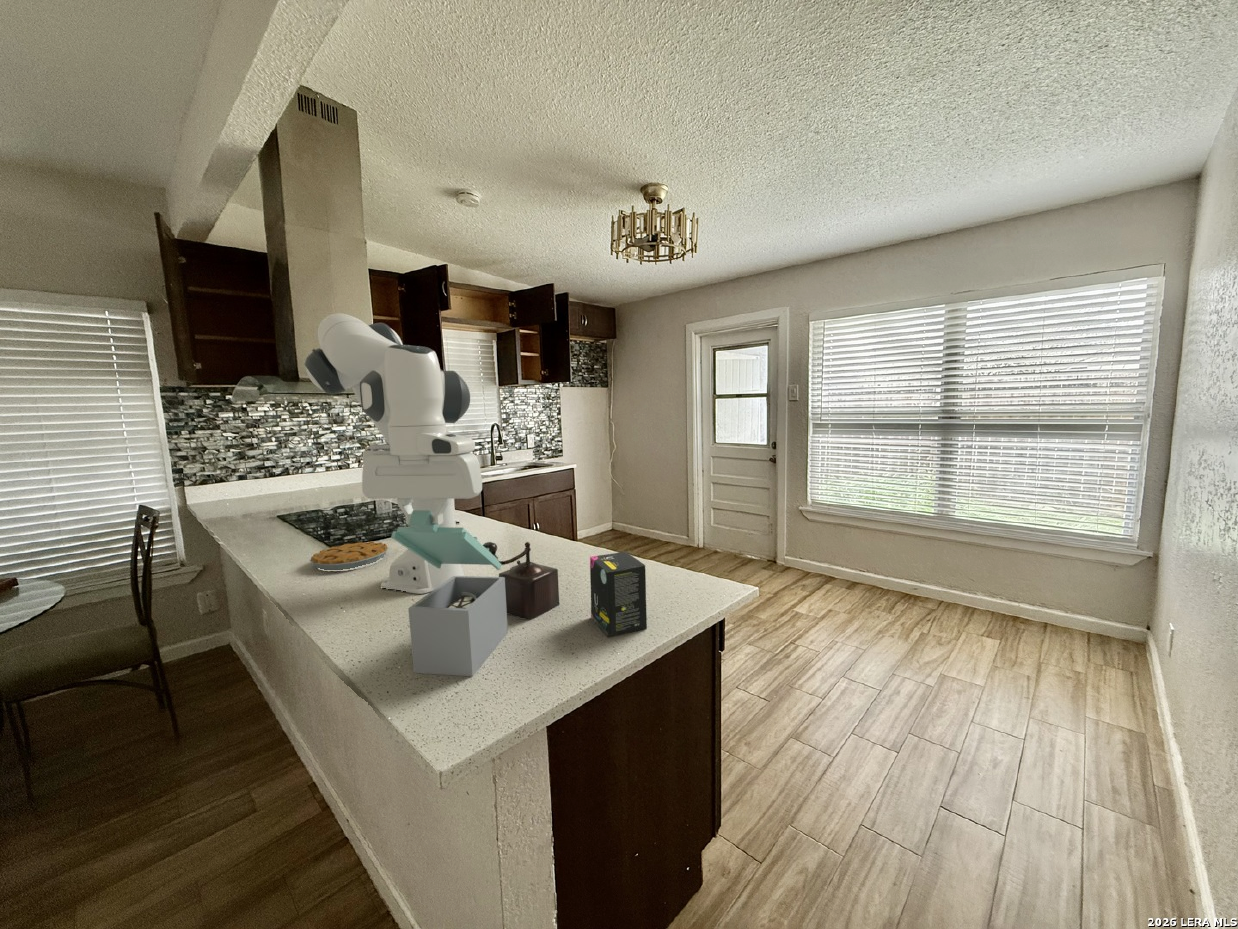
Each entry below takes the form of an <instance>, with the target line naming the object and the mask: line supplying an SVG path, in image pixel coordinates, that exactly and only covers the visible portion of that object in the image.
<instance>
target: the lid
mask: <svg viewBox="0 0 1238 929" xmlns="http://www.w3.org/2000/svg"><path fill="white" fill-rule="evenodd" d="M430 514H433V513H432V512H431V511H429V510H413V511H412V515H411V518H410V521H409V524H408V525H410V526H398V527H397V530H393V531H392V534H391V536H390V538H391V539H392V540H394V542H397V543H399V544H400V545H401V546H404V548H406V549H407V550H408V549H409V550H411V551H412V552H414V553H415V554H417V555H418V556H420V557H421V558H423V559H424V560H426V561H427V562H429V563H430V564H432V565H433V566H435V567H436V568H441V564H461V565H479V566H480V565H481V566H483V565H485V566H486V565H487V566H488V565H489V566H490V565H491V566H492V567H493V568H495V569H496V570H497V571H500V570H501V567H502V565H501V563H500V562H499V561H500V560H499V558H498V559H497V558H496V557H495V556H494V555H493V554H492V553H490V552H489V548H485V547H484V546H483V544H482V543H481V542H480V541H479V540H478V537H477V536H473V535H472V534H471V533H470V532H469V531H467V530H466V529H465V528H464V527H457V526H456V527H439V525H431V524H430Z"/></svg>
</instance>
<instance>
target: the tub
mask: <svg viewBox="0 0 1238 929" xmlns="http://www.w3.org/2000/svg"><path fill="white" fill-rule="evenodd" d="M462 592H467V593H471V594H473V595H475V596H476V598H477V599H476V600H475V601H474V602H473V603H472V604H471V605H470V606H468V607H467V608H466V609H464V608H446V607H447V606H448V605H450V604H451V603H454V602H456V601H457V600H459V599H460V598H461V597H462ZM408 620H409V621H408V622H409V631H410V632H409V633H410V645H411V656H412V667H413V668H412V669H413V673H414V674H427V675H428V674H429V675H443V676H445V675H447V676H459V677H460V676H461V677H474V675H475V674H476V673H477V672H478V671H479V670H480V668H481V667H482V666H483V665H484V663H485V662H486V661H487V659H488V658H489V657H490V656H491V654H492V653H493V652H494V651H495V650H496V648H497V647H498V646H499V644H500V643H501V642H502V641H503V640H504V638H505V637H506V636H507V635H508V633H509V631H508V630H509V628H508V614H507V610H506V592H505V577H499V576H474V575H465V576H453V577H451V578H450V579H449V580H447V581H446V582H444V583H443V584H442V585H440V586H439V587H437V588H436V589H435V590H433V591H430V592H428V593H427V594H426V595H425V596H424V597H422V598H420V599H419V600H418V601H417V602H414V603H413V604H412V605H411V606H409V607H408Z"/></svg>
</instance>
